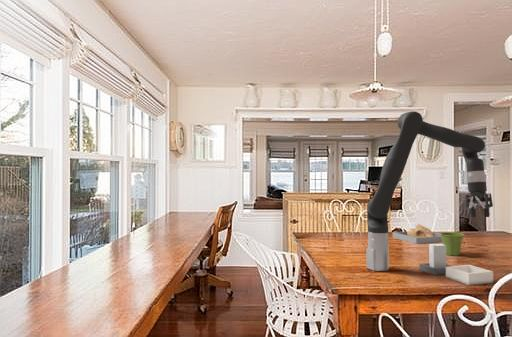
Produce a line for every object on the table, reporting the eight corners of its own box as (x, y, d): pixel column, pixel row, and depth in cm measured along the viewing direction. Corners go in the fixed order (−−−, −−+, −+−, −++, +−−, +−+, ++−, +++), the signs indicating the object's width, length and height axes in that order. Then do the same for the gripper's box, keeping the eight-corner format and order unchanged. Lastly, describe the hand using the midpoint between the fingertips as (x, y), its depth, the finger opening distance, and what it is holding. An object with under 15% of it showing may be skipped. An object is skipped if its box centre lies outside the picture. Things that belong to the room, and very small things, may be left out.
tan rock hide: (425, 252, 257) (427, 242, 254) (403, 244, 266) (404, 234, 263) (436, 238, 269) (437, 228, 266) (414, 231, 278) (415, 221, 275)
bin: (468, 285, 161) (468, 273, 161) (445, 277, 173) (445, 266, 173) (493, 282, 165) (493, 271, 165) (469, 274, 177) (469, 264, 177)
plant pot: (444, 251, 227) (444, 231, 227) (467, 254, 218) (467, 233, 218) (436, 254, 219) (436, 233, 219) (459, 258, 210) (459, 236, 210)
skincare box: (441, 269, 186) (441, 243, 186) (447, 272, 182) (446, 245, 182) (428, 270, 186) (428, 243, 186) (434, 272, 181) (433, 245, 181)
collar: (436, 275, 177) (436, 269, 177) (419, 269, 187) (419, 263, 187) (456, 273, 180) (456, 267, 180) (439, 267, 190) (439, 262, 191)
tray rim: (416, 243, 251) (416, 238, 251) (392, 237, 274) (392, 232, 274) (448, 241, 258) (448, 235, 258) (423, 235, 281) (423, 230, 281)
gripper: (459, 182, 191) (462, 217, 190) (480, 180, 177) (483, 217, 176) (473, 182, 193) (476, 216, 191) (495, 179, 179) (499, 216, 177)
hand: (480, 217), depth 183 cm, fingers open, 8 cm apart
